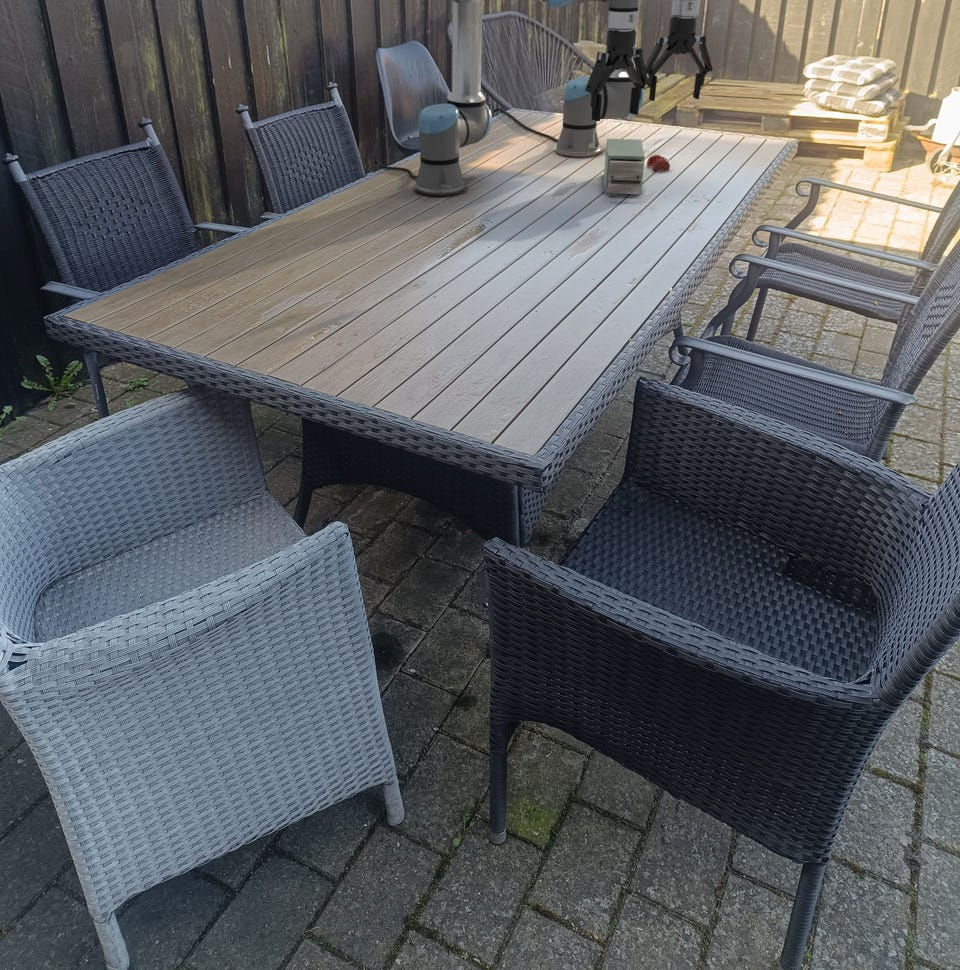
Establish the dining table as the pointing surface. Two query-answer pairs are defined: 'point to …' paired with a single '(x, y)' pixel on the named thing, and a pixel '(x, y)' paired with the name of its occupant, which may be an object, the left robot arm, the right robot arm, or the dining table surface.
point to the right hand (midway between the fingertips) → (673, 99)
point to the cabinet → (622, 155)
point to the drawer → (624, 176)
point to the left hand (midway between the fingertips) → (614, 117)
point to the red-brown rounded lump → (658, 163)
